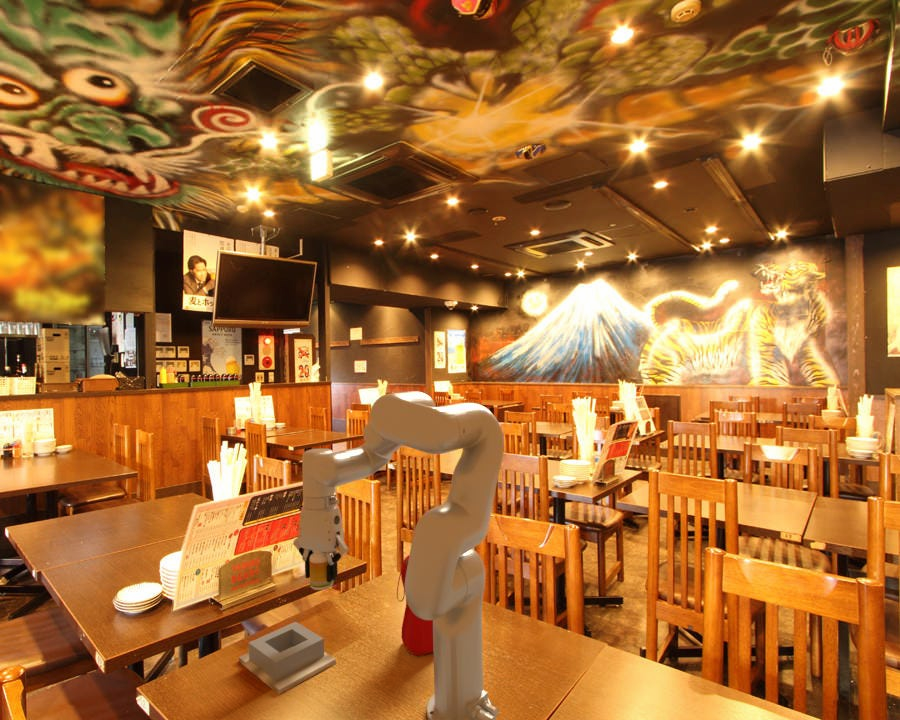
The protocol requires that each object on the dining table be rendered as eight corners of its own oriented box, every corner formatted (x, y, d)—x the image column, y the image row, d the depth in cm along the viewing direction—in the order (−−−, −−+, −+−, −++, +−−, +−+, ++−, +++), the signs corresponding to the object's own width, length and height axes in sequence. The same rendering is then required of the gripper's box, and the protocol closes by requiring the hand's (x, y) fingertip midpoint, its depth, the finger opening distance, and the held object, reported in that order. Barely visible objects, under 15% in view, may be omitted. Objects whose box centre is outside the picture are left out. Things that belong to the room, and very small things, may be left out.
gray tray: (335, 663, 115) (335, 658, 115) (279, 694, 105) (279, 689, 105) (293, 635, 127) (293, 631, 127) (238, 661, 117) (238, 657, 117)
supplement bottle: (332, 589, 118) (331, 548, 118) (308, 591, 117) (307, 549, 117) (334, 579, 123) (333, 539, 123) (311, 581, 123) (310, 541, 123)
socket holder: (324, 656, 116) (323, 638, 116) (276, 681, 108) (275, 662, 108) (296, 637, 125) (295, 621, 125) (249, 660, 116) (248, 642, 116)
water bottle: (391, 643, 123) (389, 540, 123) (432, 631, 128) (430, 532, 128) (406, 663, 115) (403, 553, 115) (449, 649, 120) (446, 543, 120)
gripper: (359, 500, 121) (360, 576, 121) (300, 494, 127) (302, 566, 127) (340, 509, 114) (342, 590, 114) (280, 502, 120) (281, 579, 120)
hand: (321, 577), depth 120 cm, fingers closed on supplement bottle, 5 cm apart
